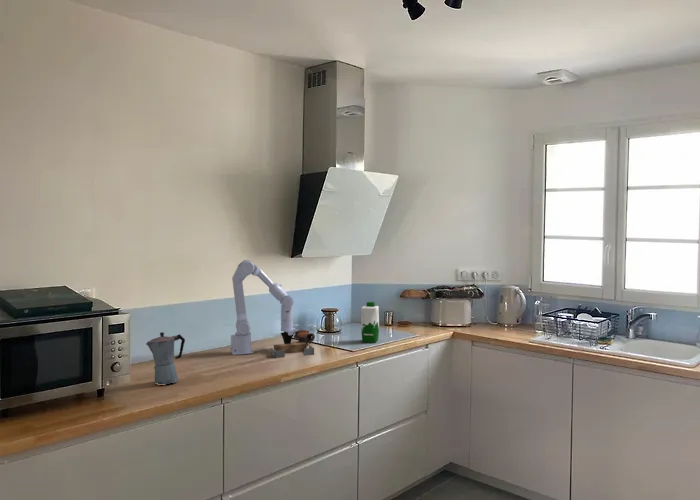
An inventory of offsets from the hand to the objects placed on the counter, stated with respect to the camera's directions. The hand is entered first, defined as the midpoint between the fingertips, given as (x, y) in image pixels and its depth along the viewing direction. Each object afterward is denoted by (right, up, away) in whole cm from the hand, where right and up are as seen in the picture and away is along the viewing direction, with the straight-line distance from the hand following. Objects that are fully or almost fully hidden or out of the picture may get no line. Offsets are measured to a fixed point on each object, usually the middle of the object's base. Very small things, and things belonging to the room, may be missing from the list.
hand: (287, 347), depth 278 cm
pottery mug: (+7, -1, +11) cm, 14 cm away
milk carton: (+41, 0, +16) cm, 44 cm away
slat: (+2, -2, -5) cm, 6 cm away
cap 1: (-3, -2, -13) cm, 13 cm away
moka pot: (-41, -5, -55) cm, 69 cm away
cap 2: (+10, -1, -8) cm, 13 cm away
